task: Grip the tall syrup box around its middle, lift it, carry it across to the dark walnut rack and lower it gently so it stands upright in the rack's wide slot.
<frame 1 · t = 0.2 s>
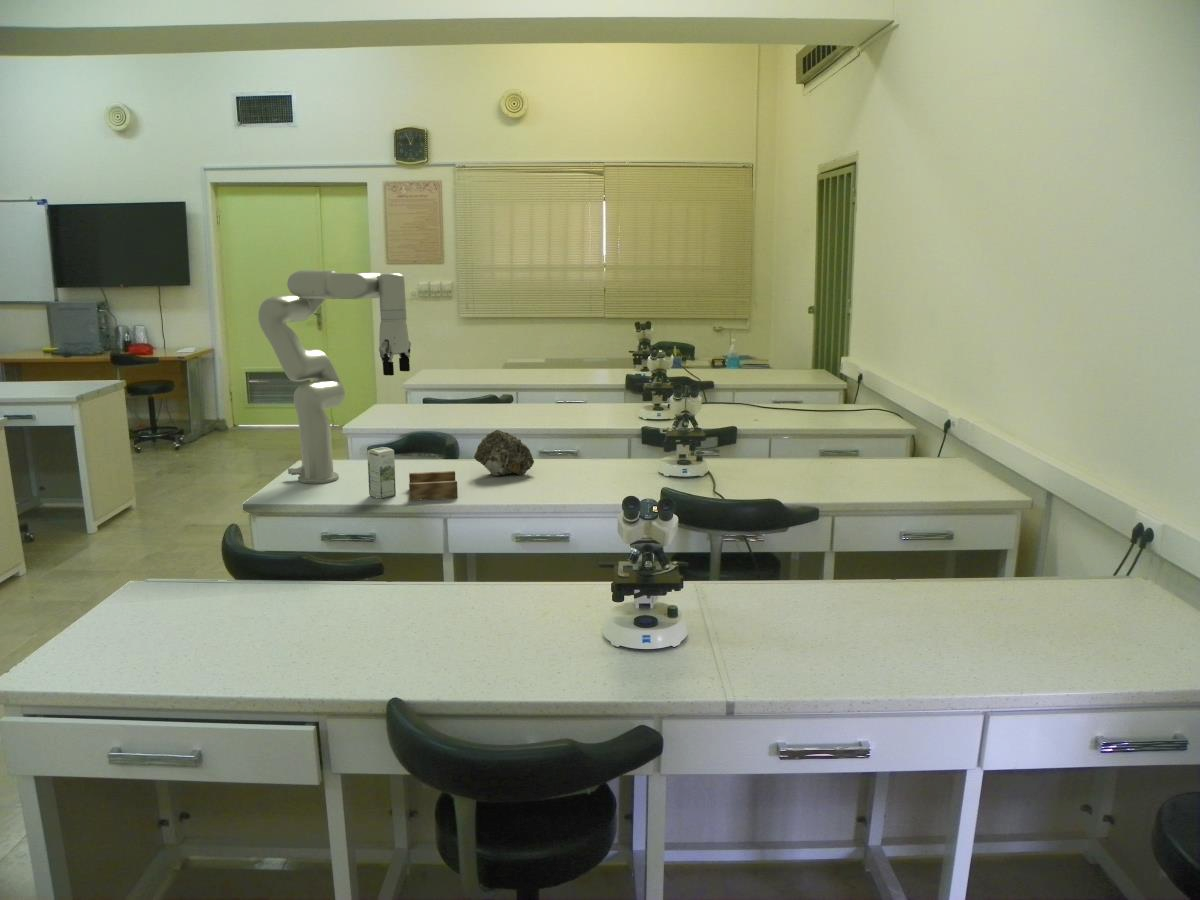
hand: (396, 373, 273), 36 cm above the table, tool pointing down, fingers open, 9 cm apart
rock: (507, 473, 303), on the table
syrup box: (382, 496, 274), on the table
walnut rack: (433, 493, 277), on the table
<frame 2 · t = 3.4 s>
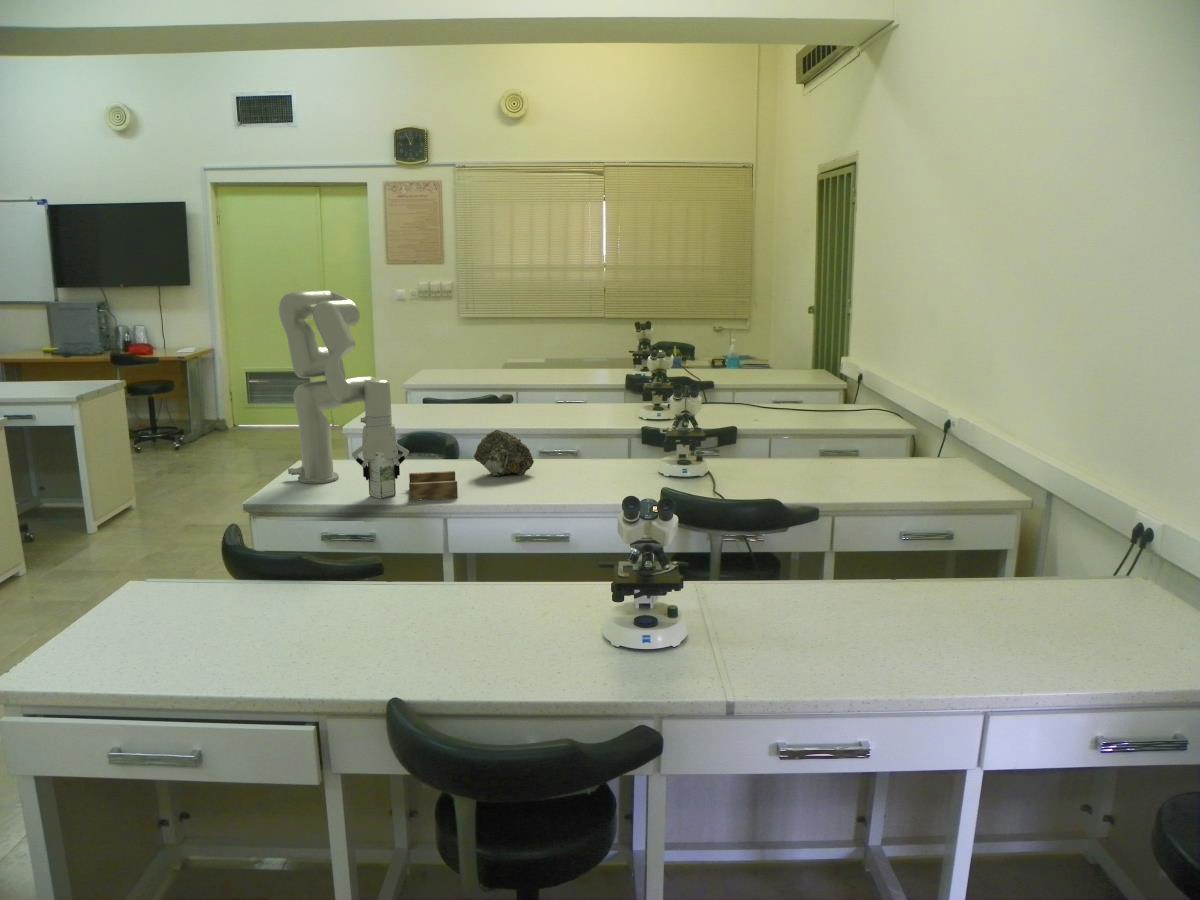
hand: (381, 478, 273), 6 cm above the table, tool pointing down, fingers closed on syrup box, 8 cm apart
syrup box: (382, 496, 274), on the table, touching gripper
everything else where it was.
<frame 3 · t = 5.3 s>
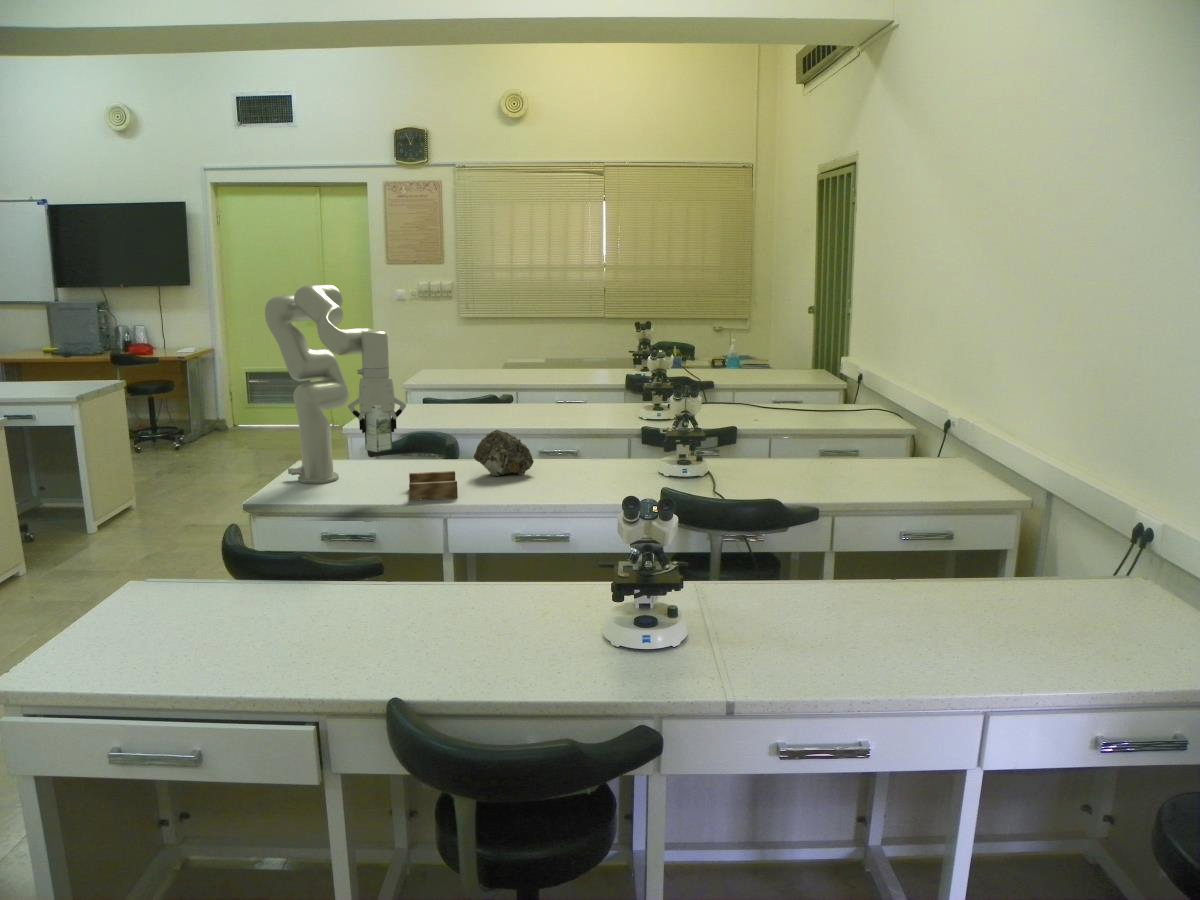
hand: (378, 431, 270), 20 cm above the table, tool pointing down, fingers closed on syrup box, 8 cm apart
syrup box: (379, 450, 271), point 14 cm above the table, touching gripper
everything else where it was.
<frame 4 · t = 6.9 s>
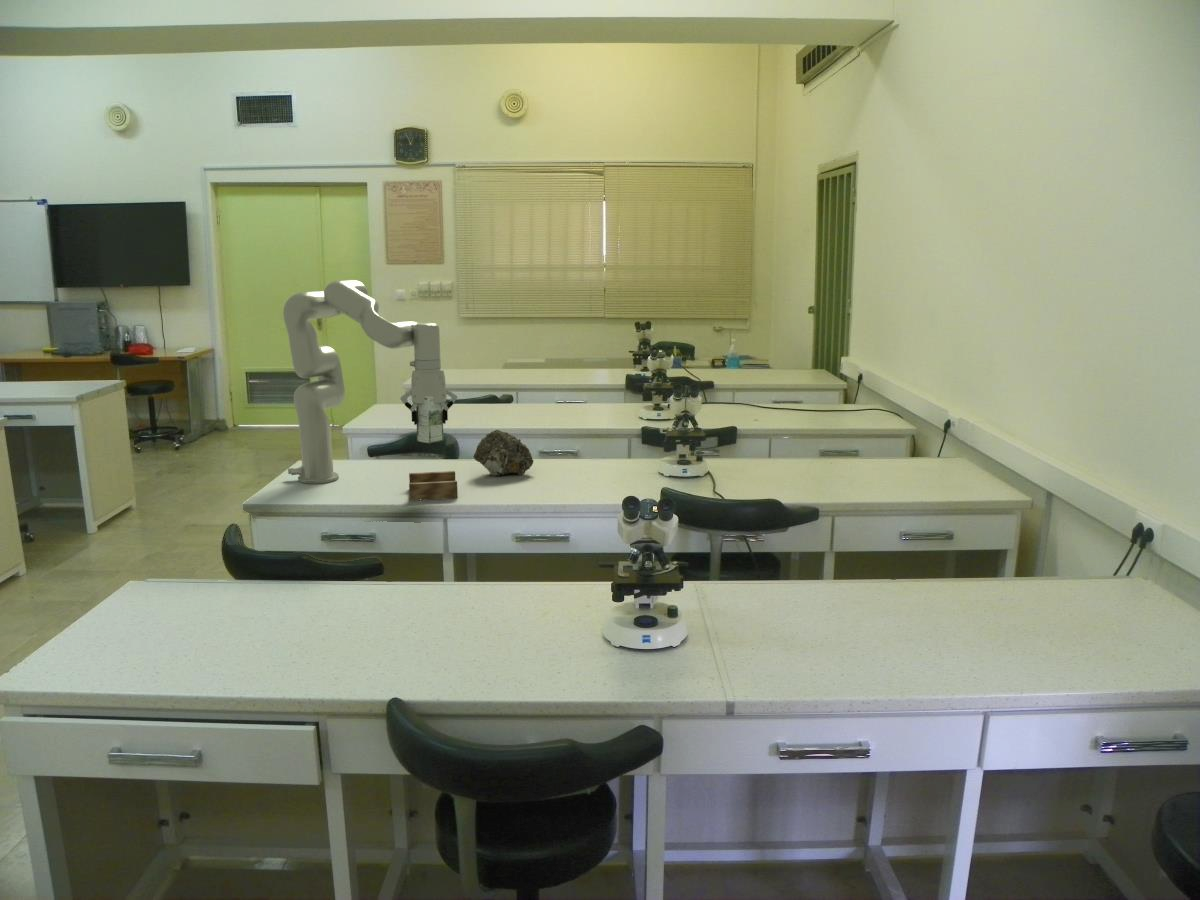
hand: (429, 423, 272), 22 cm above the table, tool pointing down, fingers closed on syrup box, 8 cm apart
syrup box: (430, 441, 274), point 16 cm above the table, touching gripper
everything else where it was.
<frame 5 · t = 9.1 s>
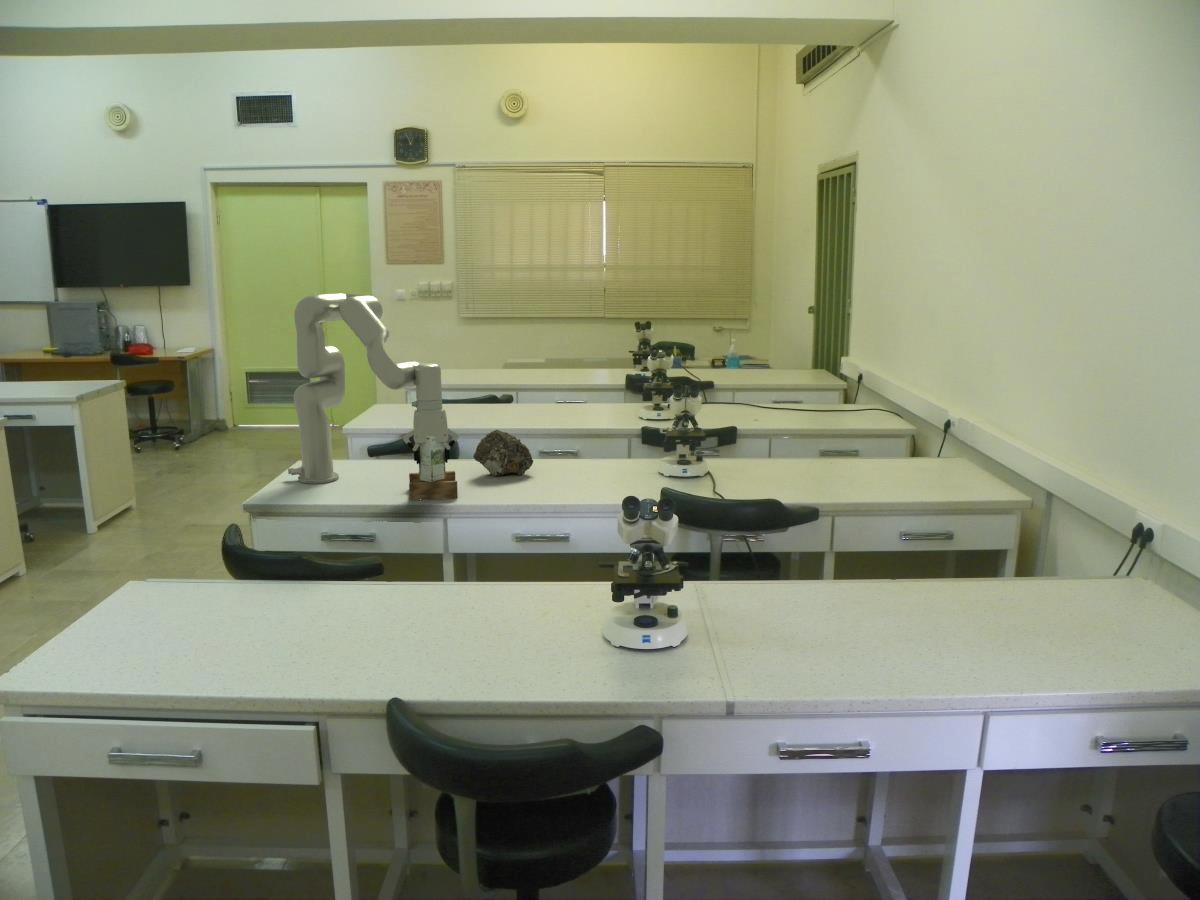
hand: (432, 462, 275), 10 cm above the table, tool pointing down, fingers closed on syrup box, 8 cm apart
syrup box: (432, 480, 276), point 4 cm above the table, touching gripper
everything else where it was.
when the fingers open (8 cm above the table, at t = 10.7 s): syrup box stays where it is, resting on walnut rack.
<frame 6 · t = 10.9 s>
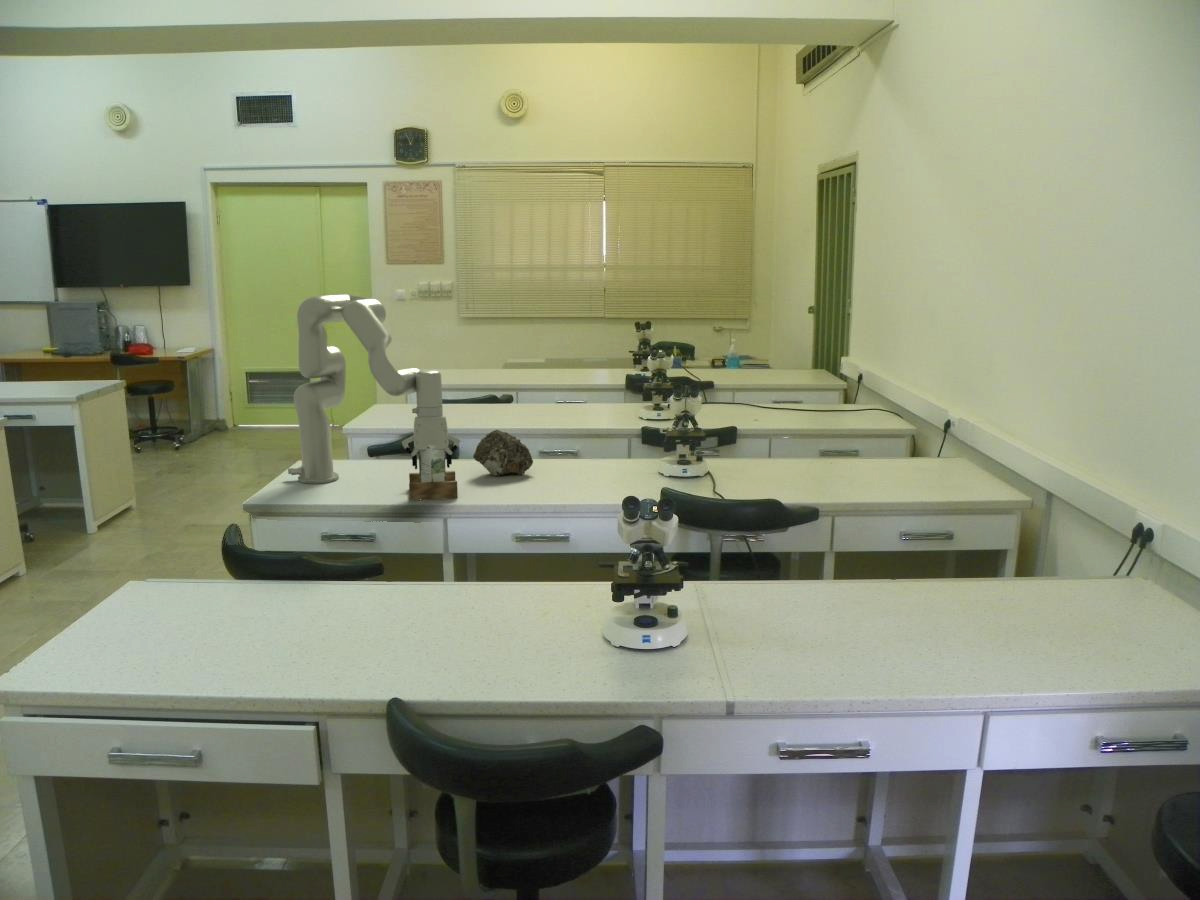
hand: (432, 467, 275), 8 cm above the table, tool pointing down, fingers open, 9 cm apart
syrup box: (433, 489, 277), point 1 cm above the table, touching walnut rack
everything else where it was.
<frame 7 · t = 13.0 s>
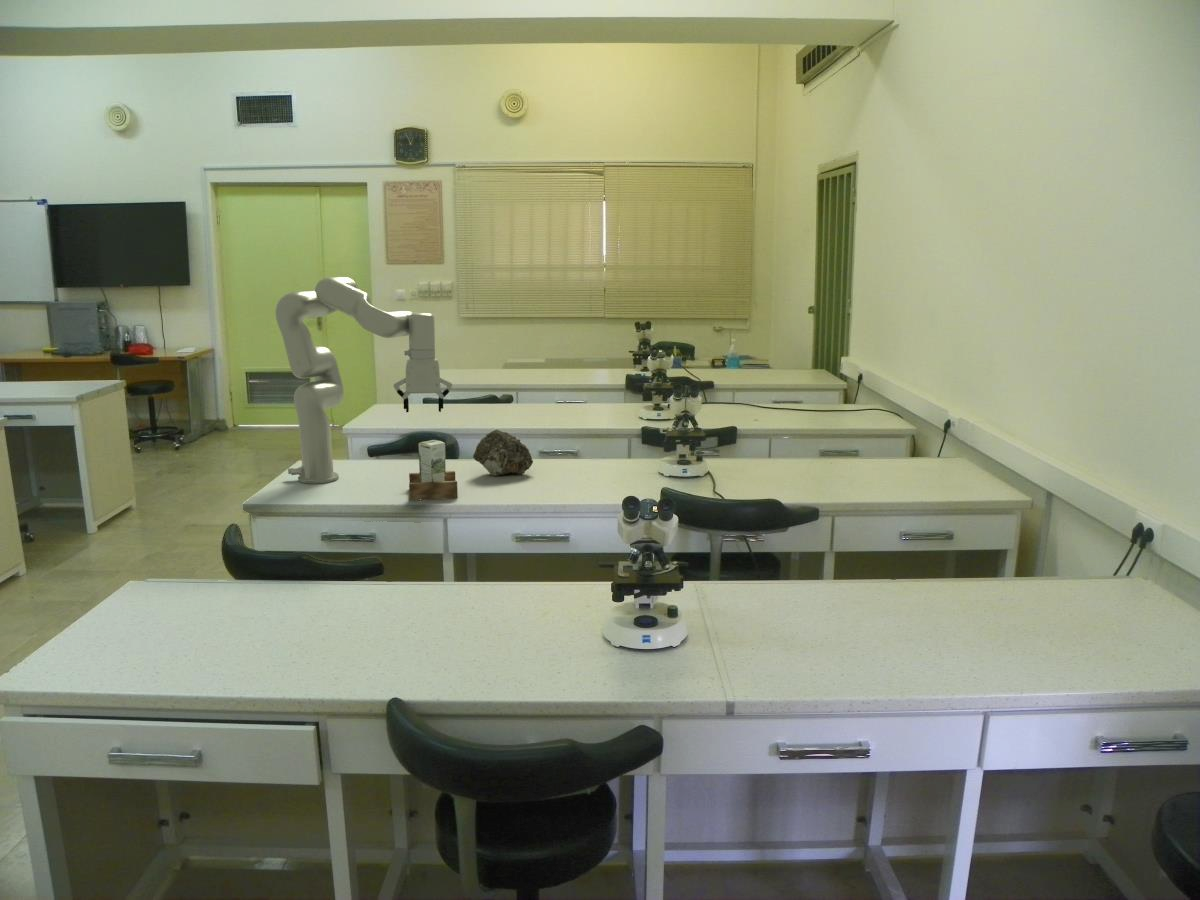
hand: (423, 411, 274), 25 cm above the table, tool pointing down, fingers open, 9 cm apart
nothing on the table moved.
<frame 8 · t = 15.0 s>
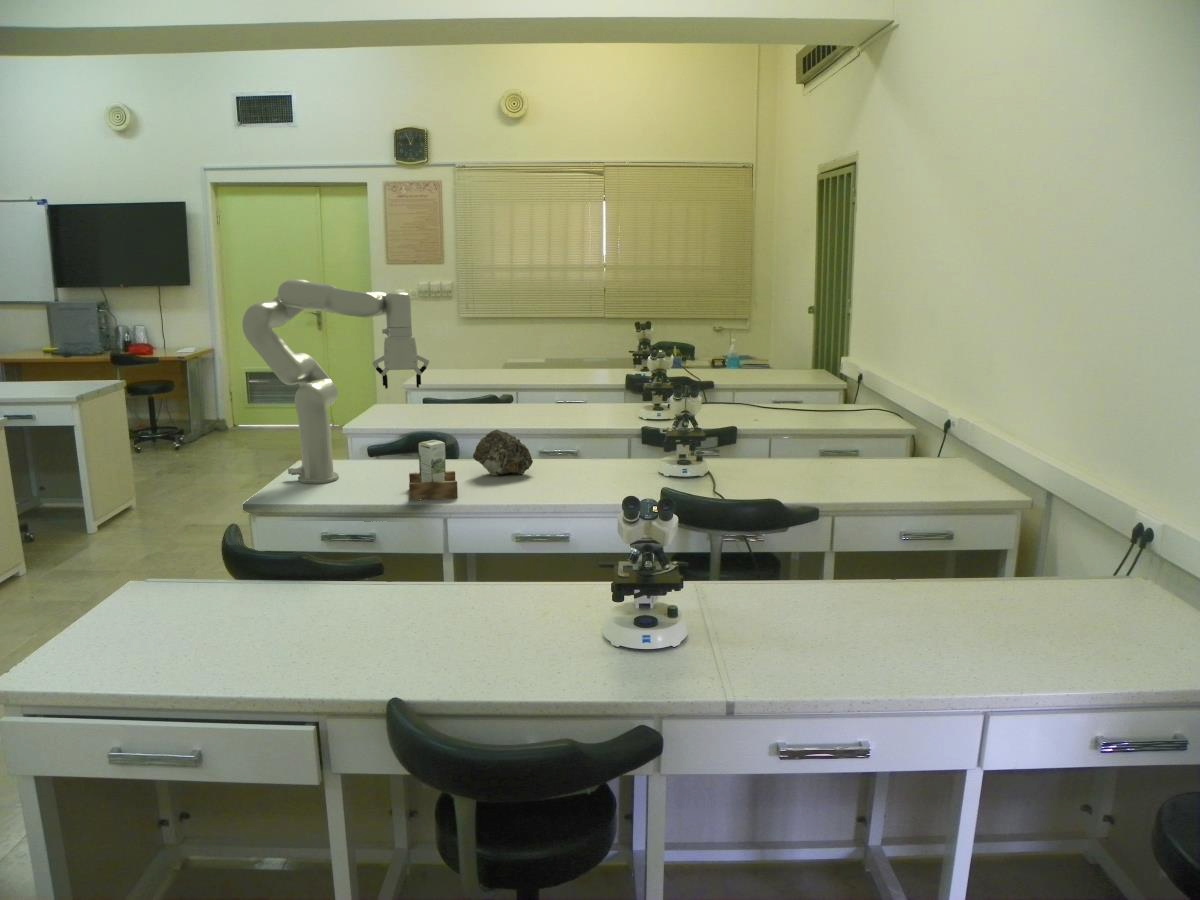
hand: (402, 387, 285), 30 cm above the table, tool pointing down, fingers open, 9 cm apart
nothing on the table moved.
at the end: syrup box inside the target area on the walnut rack (0.1 cm from its centre), point 1.3 cm above the walnut rack's base; syrup box tilted 0°; the gripper is holding nothing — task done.
